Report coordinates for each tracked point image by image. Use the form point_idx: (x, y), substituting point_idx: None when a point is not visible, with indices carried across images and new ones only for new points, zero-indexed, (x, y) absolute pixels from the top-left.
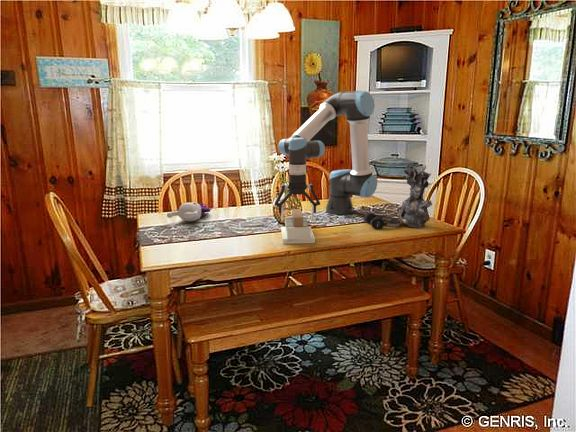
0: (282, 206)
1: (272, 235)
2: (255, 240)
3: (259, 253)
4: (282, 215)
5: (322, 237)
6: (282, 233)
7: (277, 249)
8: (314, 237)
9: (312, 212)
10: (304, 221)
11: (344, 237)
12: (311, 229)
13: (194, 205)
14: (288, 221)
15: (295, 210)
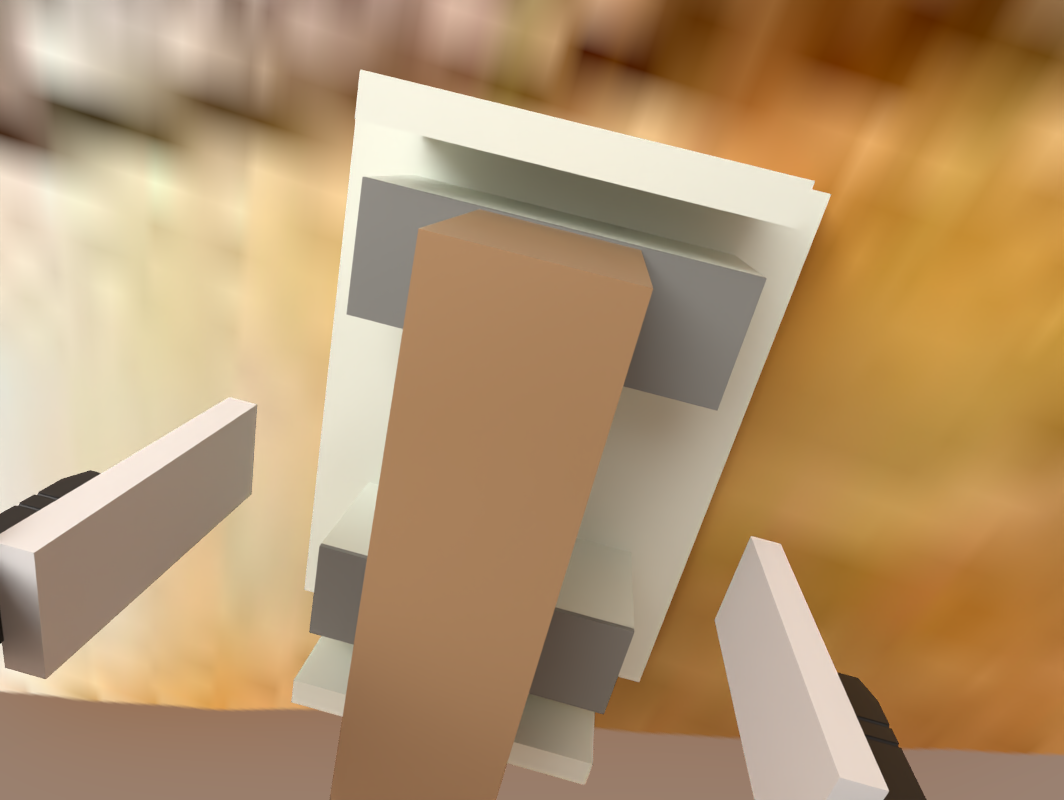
0: (26, 611)
1: (249, 259)
2: (62, 378)
3: (117, 692)
4: (173, 548)
5: (806, 519)
6: (331, 403)
7: (260, 667)
8: (650, 649)
9: (754, 751)
10: (664, 395)
11: (1058, 601)
12: (764, 357)
13: None
14: (393, 313)
15: (479, 386)
